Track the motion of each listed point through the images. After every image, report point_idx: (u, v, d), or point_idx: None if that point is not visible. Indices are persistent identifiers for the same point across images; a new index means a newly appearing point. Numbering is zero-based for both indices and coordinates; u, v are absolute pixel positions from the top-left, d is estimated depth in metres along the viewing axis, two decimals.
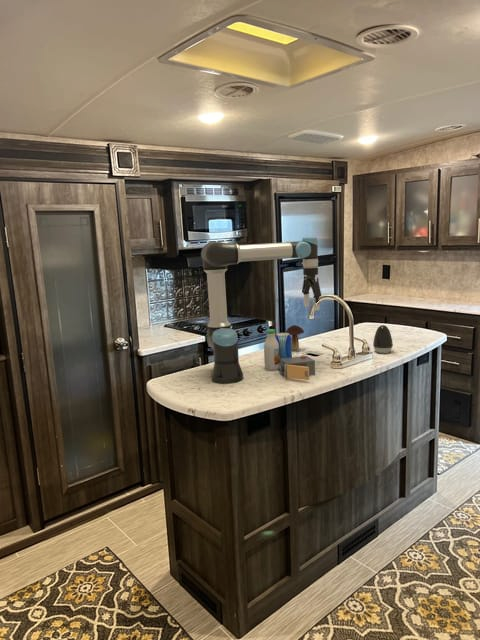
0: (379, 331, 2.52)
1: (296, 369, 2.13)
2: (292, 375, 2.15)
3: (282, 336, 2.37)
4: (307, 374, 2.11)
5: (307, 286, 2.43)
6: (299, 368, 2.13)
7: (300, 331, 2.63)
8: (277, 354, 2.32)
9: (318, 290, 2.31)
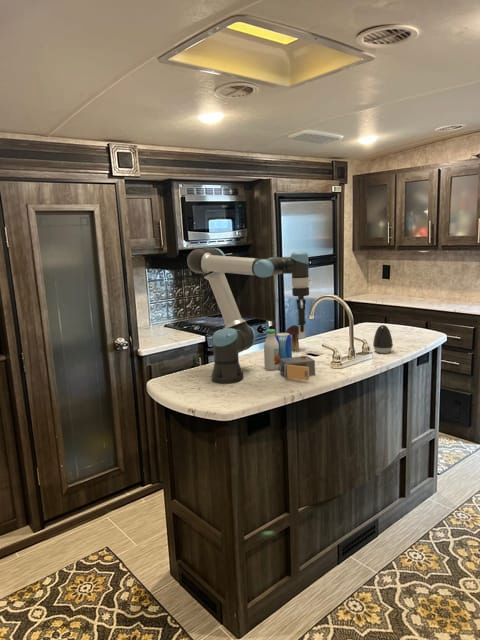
0: (379, 331, 2.52)
1: (296, 369, 2.13)
2: (292, 375, 2.15)
3: (282, 336, 2.37)
4: (307, 374, 2.11)
5: None
6: (299, 368, 2.13)
7: None
8: (277, 354, 2.32)
9: (302, 318, 2.07)
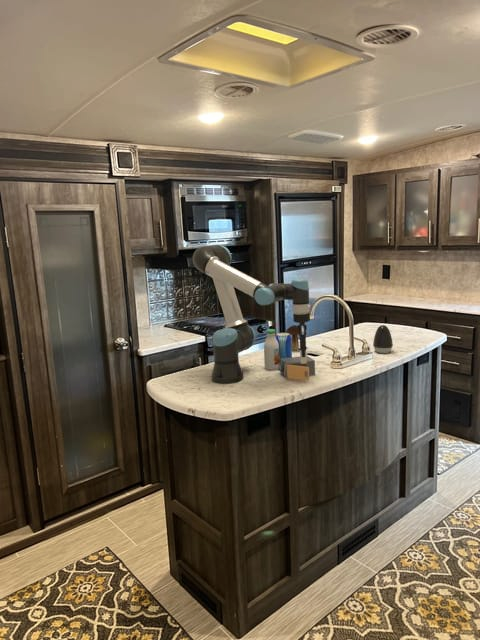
0: (379, 331, 2.52)
1: (296, 369, 2.13)
2: (292, 375, 2.15)
3: (282, 336, 2.37)
4: (307, 374, 2.11)
5: None
6: (299, 368, 2.13)
7: None
8: (277, 354, 2.32)
9: (303, 344, 2.10)
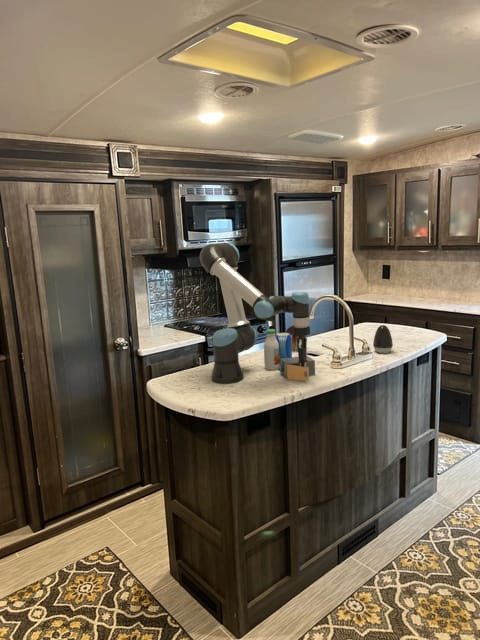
0: (379, 331, 2.52)
1: (296, 369, 2.13)
2: (291, 375, 2.15)
3: (282, 336, 2.37)
4: (307, 374, 2.10)
5: None
6: (299, 368, 2.12)
7: None
8: (277, 354, 2.32)
9: (301, 357, 2.10)
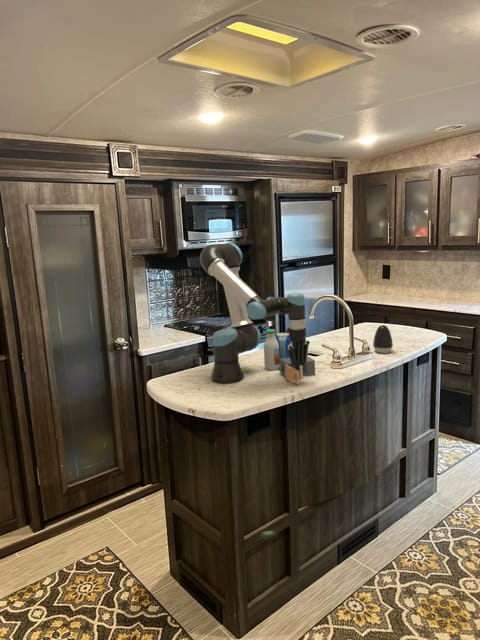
0: (379, 331, 2.52)
1: (290, 371, 2.11)
2: (288, 376, 2.14)
3: (282, 336, 2.37)
4: (296, 377, 2.07)
5: (298, 351, 2.10)
6: (292, 370, 2.10)
7: None
8: (277, 354, 2.32)
9: (292, 359, 2.07)
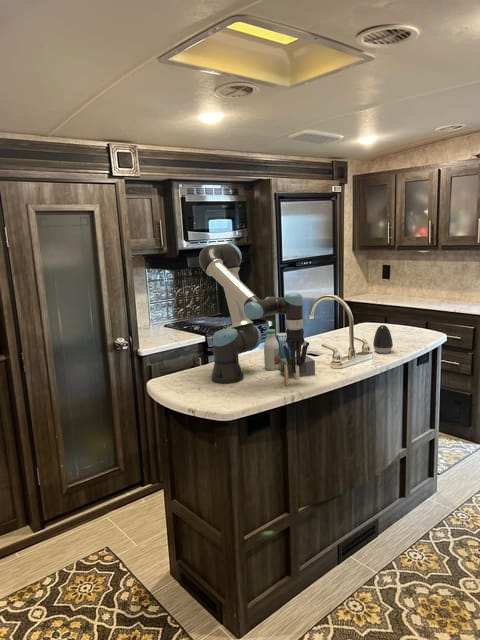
0: (379, 331, 2.52)
1: None
2: None
3: (282, 336, 2.37)
4: (285, 378, 2.06)
5: (296, 351, 2.09)
6: (285, 371, 2.10)
7: None
8: (277, 354, 2.32)
9: (287, 359, 2.08)
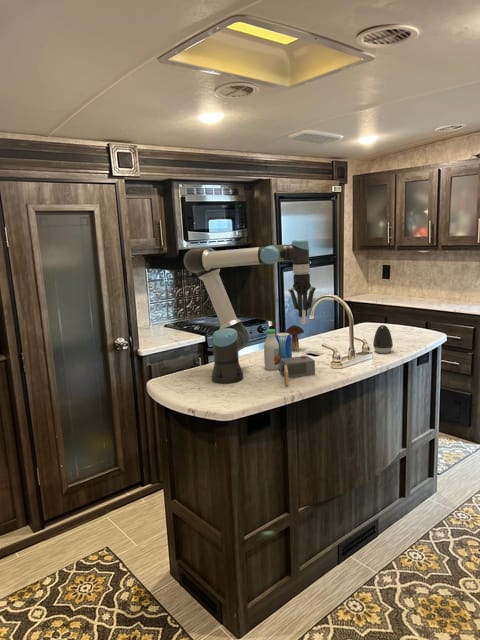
0: (379, 331, 2.52)
1: None
2: None
3: (282, 336, 2.37)
4: (285, 378, 2.06)
5: (303, 296, 2.17)
6: None
7: (300, 331, 2.63)
8: (277, 354, 2.32)
9: (294, 303, 2.16)
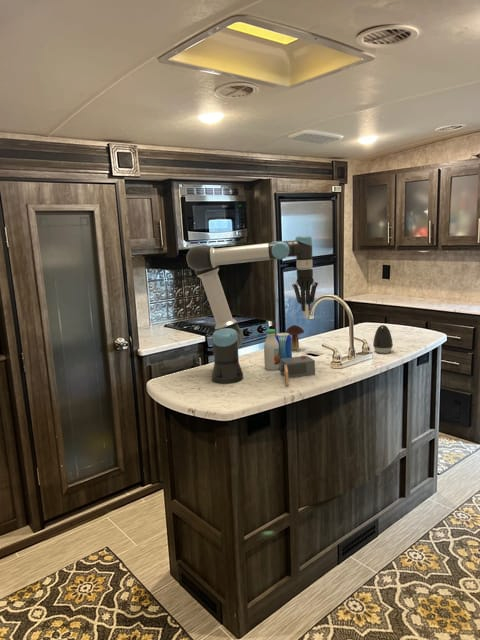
0: (379, 331, 2.52)
1: None
2: None
3: (282, 336, 2.37)
4: (285, 378, 2.06)
5: (306, 291, 2.24)
6: None
7: (300, 331, 2.63)
8: (277, 354, 2.32)
9: (297, 298, 2.22)
